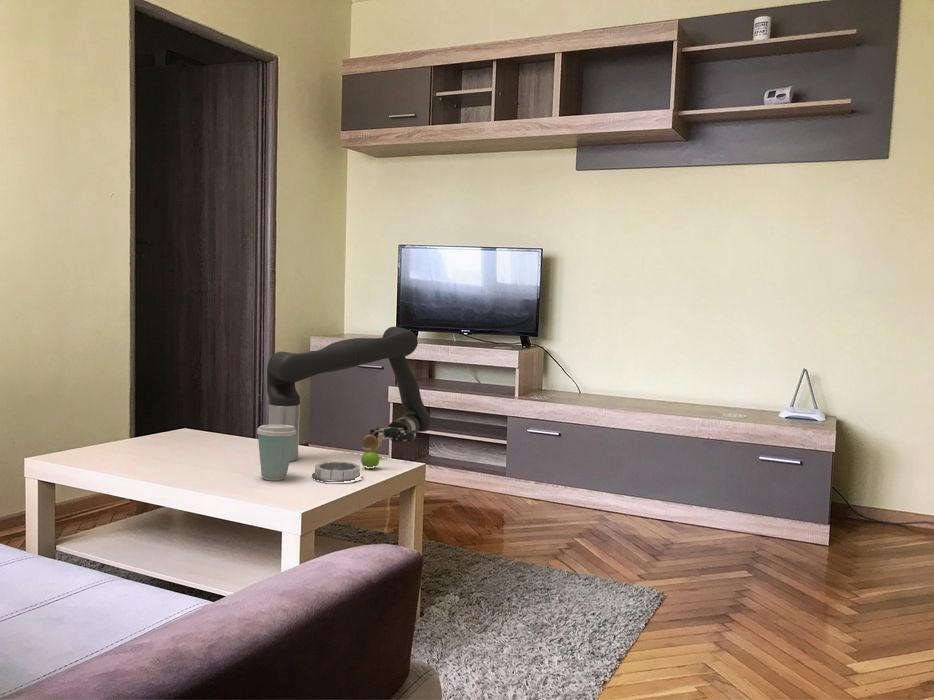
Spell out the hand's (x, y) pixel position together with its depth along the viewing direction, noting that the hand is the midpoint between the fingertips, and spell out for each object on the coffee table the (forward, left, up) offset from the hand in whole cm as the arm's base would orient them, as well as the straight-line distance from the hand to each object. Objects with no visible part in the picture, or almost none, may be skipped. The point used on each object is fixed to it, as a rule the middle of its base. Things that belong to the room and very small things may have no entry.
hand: (385, 438), depth 235 cm
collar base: (-14, -22, -7) cm, 28 cm away
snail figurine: (-4, -10, -8) cm, 14 cm away
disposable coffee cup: (-31, -23, -8) cm, 40 cm away
